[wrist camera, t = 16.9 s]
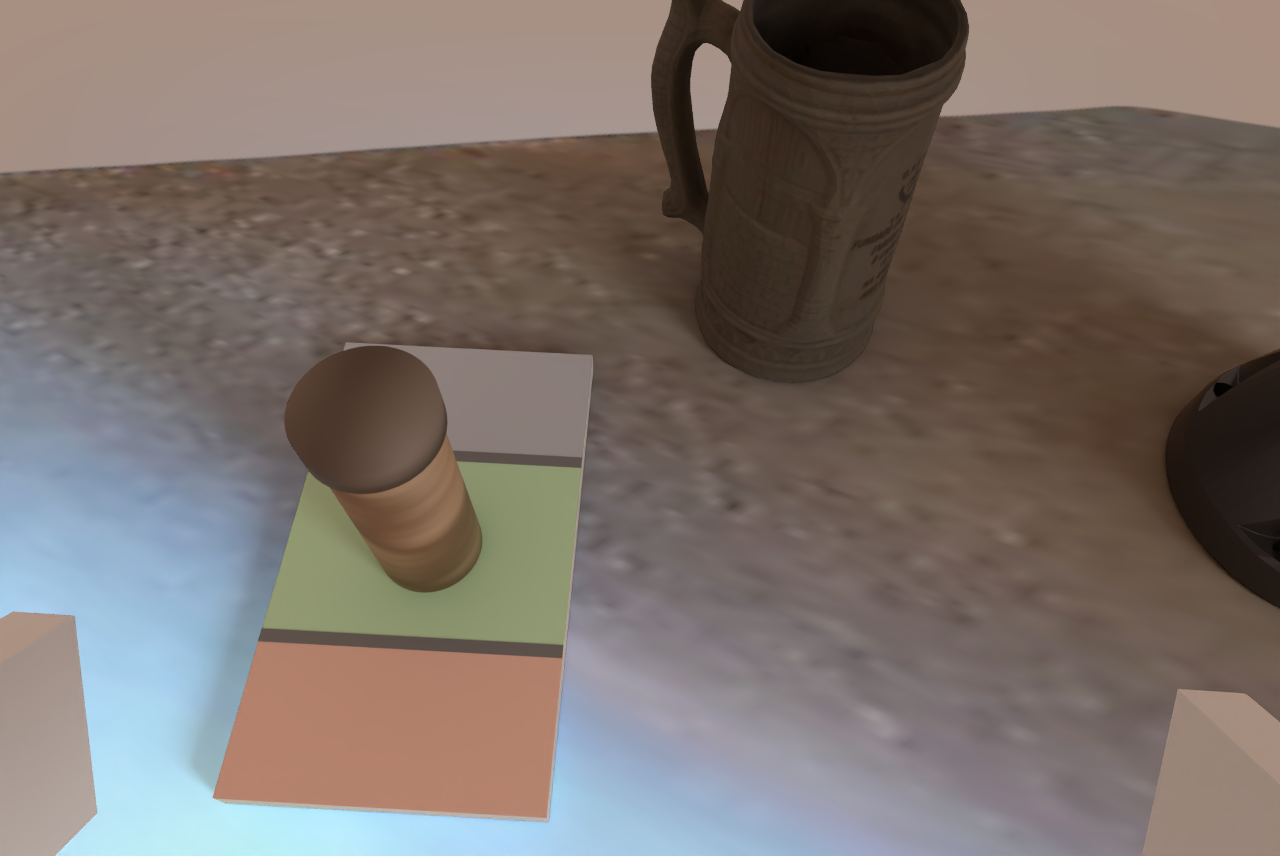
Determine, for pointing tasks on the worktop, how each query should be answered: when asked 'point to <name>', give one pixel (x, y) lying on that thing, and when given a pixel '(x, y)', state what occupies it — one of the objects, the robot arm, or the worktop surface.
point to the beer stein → (803, 165)
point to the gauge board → (429, 623)
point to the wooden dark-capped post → (388, 462)
